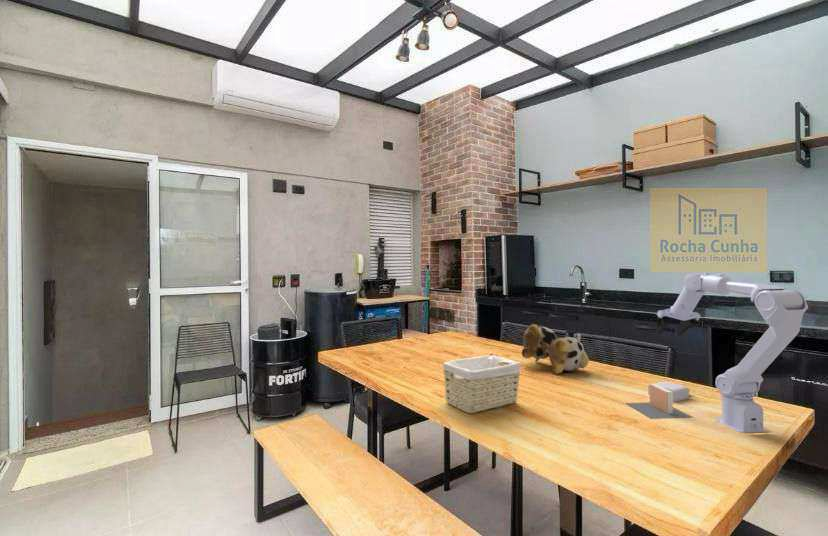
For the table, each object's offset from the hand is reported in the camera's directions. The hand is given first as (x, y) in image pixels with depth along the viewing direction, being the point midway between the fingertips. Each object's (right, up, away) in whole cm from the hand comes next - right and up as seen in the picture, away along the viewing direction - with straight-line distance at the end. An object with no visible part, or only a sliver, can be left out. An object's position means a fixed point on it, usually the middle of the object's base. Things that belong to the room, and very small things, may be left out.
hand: (668, 332), depth 145 cm
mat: (-12, -24, -13) cm, 30 cm away
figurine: (-62, -24, +39) cm, 77 cm away
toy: (-27, -24, +42) cm, 56 cm away
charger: (+3, -24, +2) cm, 24 cm away
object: (-69, -25, -4) cm, 73 cm away
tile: (-10, -24, -12) cm, 28 cm away
